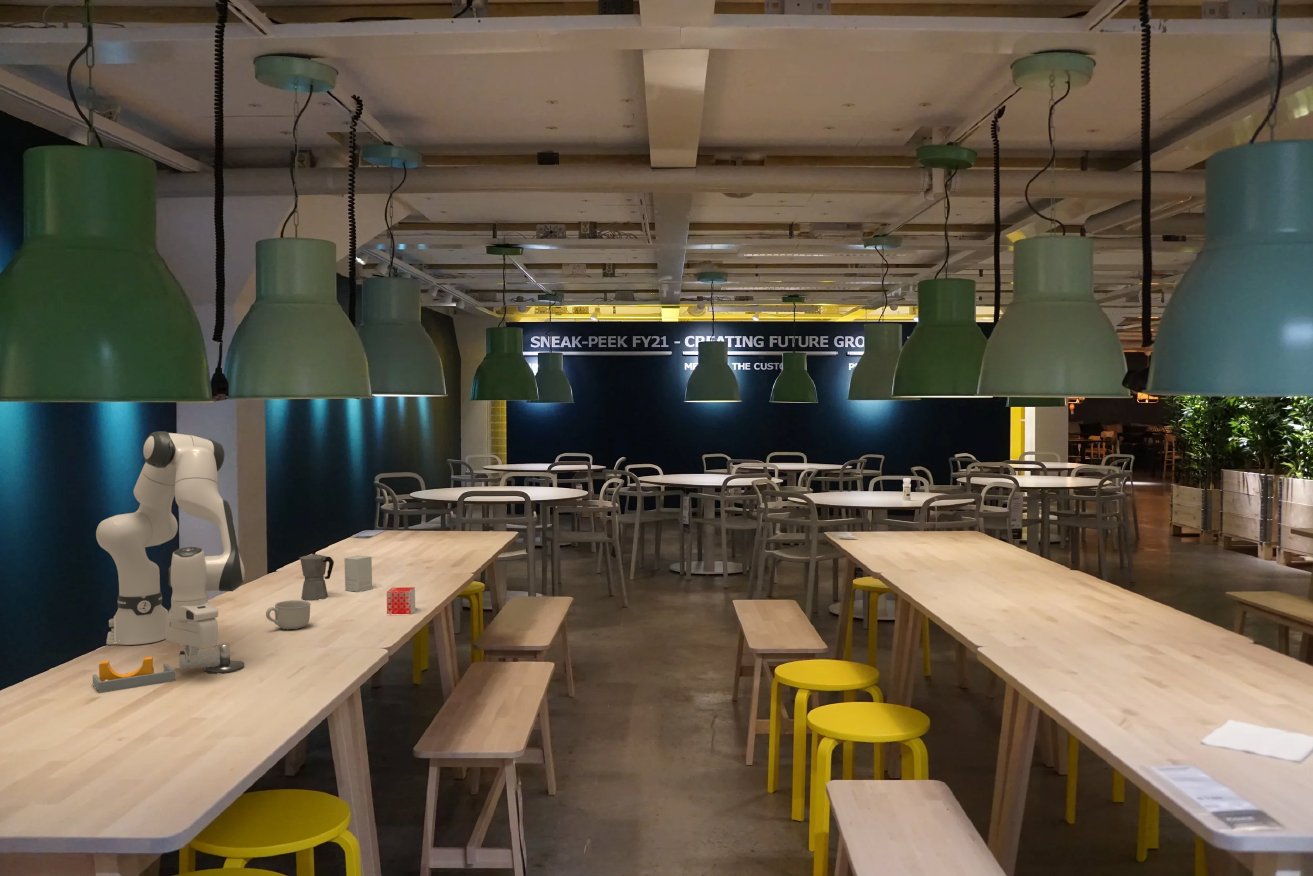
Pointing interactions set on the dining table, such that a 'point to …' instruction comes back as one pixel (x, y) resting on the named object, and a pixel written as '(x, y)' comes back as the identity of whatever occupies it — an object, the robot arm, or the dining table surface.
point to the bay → (135, 680)
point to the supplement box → (358, 573)
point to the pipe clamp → (110, 674)
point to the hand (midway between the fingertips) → (191, 661)
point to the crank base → (225, 667)
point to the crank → (207, 657)
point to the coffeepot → (315, 575)
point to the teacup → (290, 614)
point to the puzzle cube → (401, 600)
